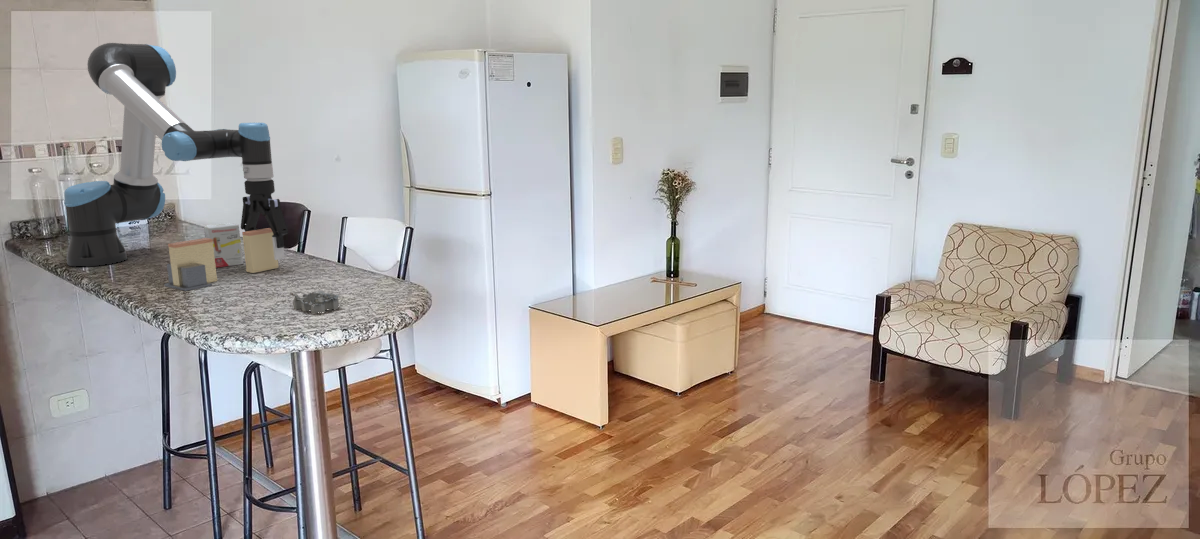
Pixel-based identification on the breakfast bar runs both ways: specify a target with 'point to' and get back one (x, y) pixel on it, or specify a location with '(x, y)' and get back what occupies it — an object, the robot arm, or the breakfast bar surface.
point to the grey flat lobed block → (316, 301)
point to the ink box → (225, 243)
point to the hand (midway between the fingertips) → (266, 256)
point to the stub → (259, 250)
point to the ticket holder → (191, 264)
